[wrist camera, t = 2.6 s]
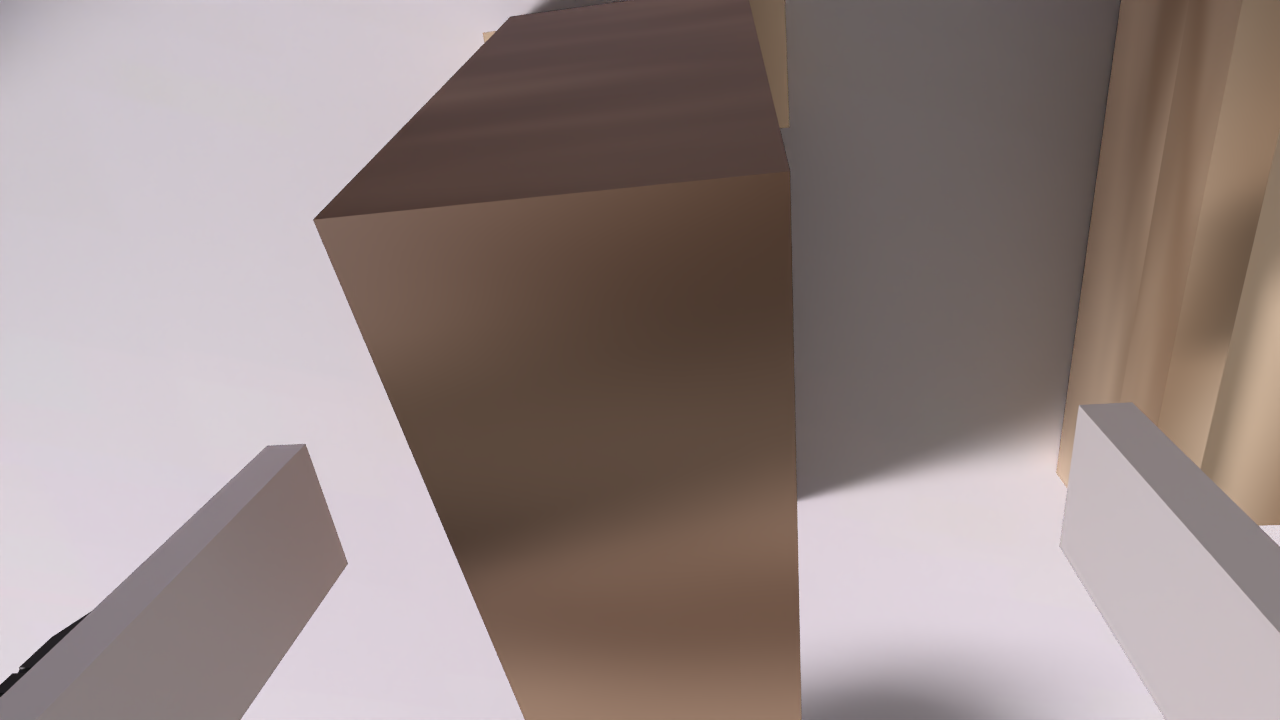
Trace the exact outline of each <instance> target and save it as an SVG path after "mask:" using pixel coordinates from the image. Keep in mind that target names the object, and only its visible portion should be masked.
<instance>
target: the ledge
mask: <svg viewBox="0 0 1280 720" xmlns="http://www.w3.org/2000/svg"><path fill="white" fill-rule="evenodd" d="M1128 402H1132V403H1133V404H1134V405H1135V406H1136V407H1137V408H1138V409H1139V410H1140V411H1142V412H1143V413H1144V414H1145V415H1146V416H1147V417H1148V418H1149V419H1150V420H1151V421H1152V422H1153V423H1154V424H1155V425H1156V426H1157V427H1158V428H1159V429H1160V430H1161V431H1162V432H1163V433H1164V434H1165V435H1166V436H1167V437H1168V438H1169V439H1170V440H1171V441H1172V442H1173V443H1174V444H1175V445H1176V446H1177V447H1178V448H1179V449H1180V450H1181V451H1182V452H1183V453H1184V454H1185V455H1186V456H1187V457H1189V458H1190V459H1191V460H1192V461H1193V462H1194V463H1195V464H1196V465H1197V466H1198V467H1199V468H1200V469H1201V470H1202V471H1203V472H1204V473H1205V474H1206V475H1207V476H1208V477H1209V478H1210V479H1211V480H1212V481H1213V482H1214V483H1215V484H1216V485H1217V486H1218V487H1219V488H1220V489H1221V490H1222V491H1223V492H1224V493H1225V494H1226V495H1227V496H1228V497H1229V498H1230V499H1231V500H1232V501H1233V502H1234V503H1236V504H1237V505H1238V506H1239V507H1240V508H1241V509H1242V510H1243V511H1244V512H1245V513H1246V514H1247V515H1248V516H1249V517H1250V518H1251V519H1252V520H1253V521H1254V522H1255V523H1256V524H1257V525H1258V526H1259V525H1280V0H1121V4H1120V11H1119V19H1118V26H1117V33H1116V40H1115V48H1114V55H1113V62H1112V70H1111V77H1110V84H1109V92H1108V99H1107V106H1106V113H1105V121H1104V128H1103V135H1102V143H1101V150H1100V157H1099V165H1098V172H1097V179H1096V186H1095V194H1094V201H1093V208H1092V216H1091V223H1090V230H1089V238H1088V245H1087V252H1086V259H1085V267H1084V274H1083V281H1082V289H1081V296H1080V303H1079V310H1078V318H1077V325H1076V332H1075V340H1074V347H1073V354H1072V362H1071V369H1070V376H1069V383H1068V391H1067V398H1066V405H1065V413H1064V420H1063V427H1062V435H1061V442H1060V449H1059V456H1058V464H1057V471H1056V473H1057V475H1058V476H1059V477H1060V479H1061V480H1062V482H1063V483H1064V484H1065V486H1066V487H1068V480H1069V473H1070V466H1071V458H1072V451H1073V444H1074V437H1075V429H1076V422H1077V415H1078V408H1079V405H1088V404H1108V403H1128Z"/></svg>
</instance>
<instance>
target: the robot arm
mask: <svg viewBox="0 0 1280 720" xmlns="http://www.w3.org/2000/svg"><path fill="white" fill-rule="evenodd" d="M1059 547H1060V548H1061V550H1062V552H1063V553H1064V555H1065V557H1066V558H1067V560H1068V561H1069V563H1070V565H1071V566H1072V568H1073V570H1074V571H1075V573H1076V575H1077V576H1078V578H1079V579H1080V581H1081V583H1082V584H1083V586H1084V588H1085V589H1086V591H1087V593H1088V594H1089V596H1090V597H1091V599H1092V601H1093V602H1094V604H1095V606H1096V607H1097V609H1098V611H1099V612H1100V614H1101V615H1102V617H1103V619H1104V620H1105V622H1106V624H1107V625H1108V627H1109V628H1110V630H1111V632H1112V633H1113V635H1114V637H1115V638H1116V640H1117V642H1118V643H1119V645H1120V646H1121V648H1122V650H1123V651H1124V653H1125V655H1126V656H1127V658H1128V660H1129V661H1130V663H1131V664H1132V666H1133V668H1134V669H1135V671H1136V673H1137V674H1138V676H1139V677H1140V679H1141V681H1142V682H1143V684H1144V686H1145V687H1146V689H1147V691H1148V692H1149V694H1150V695H1151V697H1152V699H1153V700H1154V702H1155V704H1156V705H1157V707H1158V709H1159V710H1160V712H1161V713H1162V715H1163V717H1164V718H1165V720H1280V547H1279V546H1278V545H1277V544H1276V543H1275V542H1274V541H1273V540H1272V539H1271V538H1270V537H1269V536H1268V535H1267V534H1266V533H1265V532H1264V531H1263V530H1262V529H1261V528H1260V527H1259V526H1258V525H1257V524H1256V523H1255V522H1254V521H1253V520H1252V519H1251V518H1250V517H1249V516H1248V515H1247V514H1246V513H1245V512H1244V511H1243V510H1242V509H1241V508H1240V507H1239V506H1238V505H1237V504H1236V503H1234V502H1233V501H1232V500H1231V499H1230V498H1229V497H1228V496H1227V495H1226V494H1225V493H1224V492H1223V491H1222V490H1221V489H1220V488H1219V487H1218V486H1217V485H1216V484H1215V483H1214V482H1213V481H1212V480H1211V479H1210V478H1209V477H1208V476H1207V475H1206V474H1205V473H1204V472H1203V471H1202V470H1201V469H1200V468H1199V467H1198V466H1197V465H1196V464H1195V463H1194V462H1193V461H1192V460H1191V459H1190V458H1189V457H1187V456H1186V455H1185V454H1184V453H1183V452H1182V451H1181V450H1180V449H1179V448H1178V447H1177V446H1176V445H1175V444H1174V443H1173V442H1172V441H1171V440H1170V439H1169V438H1168V437H1167V436H1166V435H1165V434H1164V433H1163V432H1162V431H1161V430H1160V429H1159V428H1158V427H1157V426H1156V425H1155V424H1154V423H1153V422H1152V421H1151V420H1150V419H1149V418H1148V417H1147V416H1146V415H1145V414H1144V413H1143V412H1142V411H1140V410H1139V409H1138V408H1137V407H1136V406H1135V405H1134V404H1133V403H1132V402H1128V403H1108V404H1088V405H1079V408H1078V415H1077V422H1076V429H1075V437H1074V444H1073V451H1072V458H1071V466H1070V473H1069V480H1068V487H1067V495H1066V502H1065V509H1064V516H1063V524H1062V531H1061V538H1060V545H1059ZM347 564H348V563H347V560H346V557H345V554H344V551H343V548H342V546H341V543H340V540H339V537H338V534H337V532H336V529H335V526H334V523H333V520H332V517H331V515H330V512H329V509H328V506H327V503H326V500H325V498H324V495H323V492H322V489H321V486H320V484H319V481H318V478H317V475H316V472H315V469H314V467H313V464H312V461H311V458H310V455H309V452H308V450H307V447H306V444H294V445H274V446H266V447H265V448H264V449H263V450H262V451H261V452H260V453H259V454H258V455H257V456H256V457H255V458H254V459H253V460H252V461H251V462H250V463H248V464H247V465H246V466H245V467H244V468H243V469H242V470H241V471H240V472H239V473H238V474H237V475H236V476H235V477H234V478H233V479H231V480H230V481H229V482H228V483H227V484H226V485H225V486H224V487H223V488H222V489H221V490H220V491H219V492H218V493H217V494H216V495H215V496H213V497H212V498H211V499H210V500H209V501H208V502H207V503H206V504H205V505H204V506H203V507H202V508H201V509H200V510H199V511H198V512H196V513H195V514H194V515H193V516H192V517H191V518H190V519H189V520H188V521H187V522H186V523H185V524H184V525H183V526H182V527H181V528H180V529H178V530H177V531H176V532H175V533H174V534H173V535H172V536H171V537H170V538H169V539H168V540H167V541H166V542H165V543H164V544H163V545H161V546H160V547H159V548H158V549H157V550H156V551H155V552H154V553H153V554H152V555H151V556H150V557H149V558H148V559H147V560H146V561H145V562H143V563H142V564H141V565H140V566H139V567H138V568H137V569H136V570H135V571H134V572H133V573H132V574H131V575H130V576H129V577H128V578H126V579H125V580H124V581H123V582H122V583H121V584H120V585H119V586H118V587H117V588H116V589H115V590H114V591H113V592H112V593H111V594H110V595H108V596H107V597H106V598H105V599H104V600H103V601H102V602H101V603H100V604H99V605H98V606H97V607H96V608H95V609H94V610H93V611H91V612H90V613H88V614H87V615H85V616H84V617H82V618H81V619H79V620H77V621H76V622H74V623H73V624H71V625H70V626H68V627H67V628H65V629H64V630H62V631H61V632H59V633H58V634H56V635H54V636H53V637H52V638H50V639H49V640H48V641H47V642H46V643H45V644H44V645H43V646H42V647H41V648H40V649H39V650H37V651H36V652H35V653H34V654H33V655H32V656H31V657H30V658H29V659H28V660H27V661H26V662H25V663H23V664H22V665H21V666H20V667H19V669H20V670H19V672H18V673H13V674H12V675H10V676H9V677H8V678H7V679H6V680H5V681H4V682H3V683H2V684H1V685H0V720H240V719H241V718H242V716H243V715H244V714H245V712H246V711H247V709H248V708H249V706H250V705H251V703H252V702H253V701H254V699H255V698H256V696H257V695H258V693H259V692H260V690H261V689H262V687H263V686H264V685H265V683H266V682H267V680H268V679H269V677H270V676H271V674H272V673H273V672H274V670H275V669H276V667H277V666H278V664H279V663H280V661H281V660H282V658H283V657H284V656H285V654H286V653H287V651H288V650H289V648H290V647H291V645H292V644H293V643H294V641H295V640H296V638H297V637H298V635H299V634H300V632H301V631H302V629H303V628H304V627H305V625H306V624H307V622H308V621H309V619H310V618H311V616H312V615H313V614H314V612H315V611H316V609H317V608H318V606H319V605H320V603H321V602H322V600H323V599H324V598H325V596H326V595H327V593H328V592H329V590H330V589H331V587H332V586H333V585H334V583H335V582H336V580H337V579H338V577H339V576H340V574H341V573H342V571H343V570H344V569H345V567H346V566H347Z"/></svg>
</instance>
